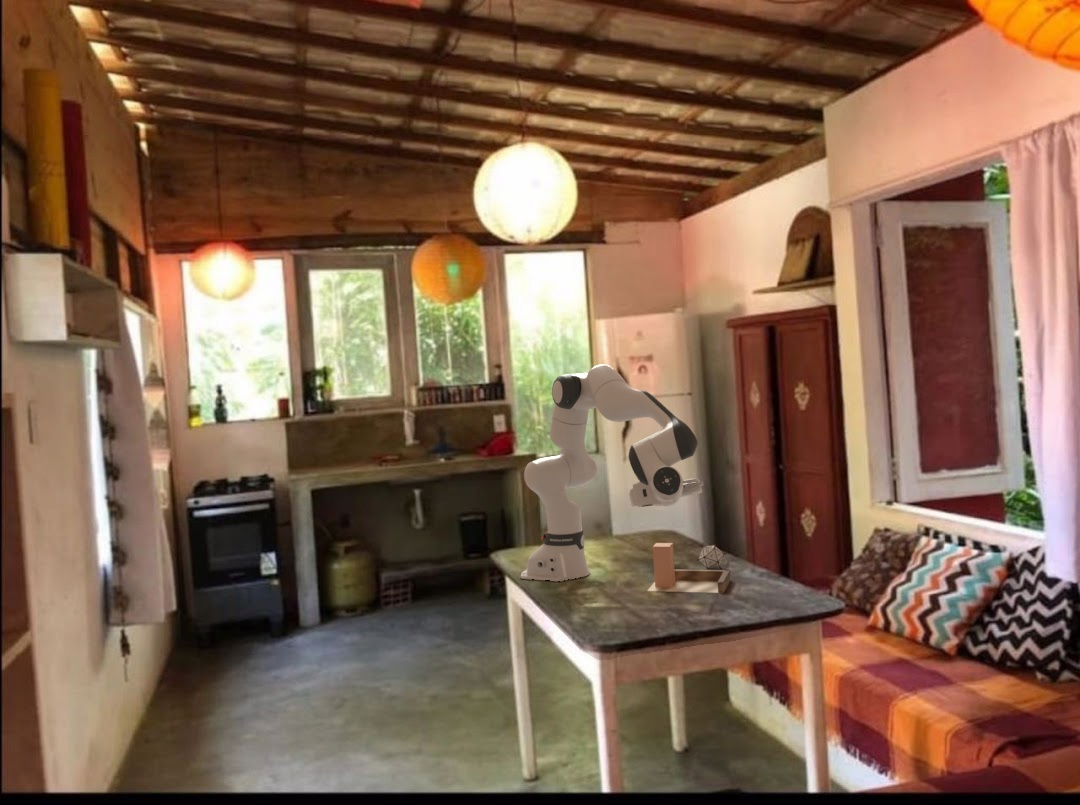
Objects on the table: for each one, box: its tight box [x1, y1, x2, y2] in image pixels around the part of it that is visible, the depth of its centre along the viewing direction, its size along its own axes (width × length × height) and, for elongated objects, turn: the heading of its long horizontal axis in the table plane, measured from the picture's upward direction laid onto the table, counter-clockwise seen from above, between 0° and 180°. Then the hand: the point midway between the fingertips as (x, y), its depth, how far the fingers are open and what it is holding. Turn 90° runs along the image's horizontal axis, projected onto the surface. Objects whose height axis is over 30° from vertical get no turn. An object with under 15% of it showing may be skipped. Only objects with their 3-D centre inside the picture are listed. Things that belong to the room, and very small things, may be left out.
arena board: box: [646, 568, 731, 594], centre depth 248 cm, size 22×14×4 cm, turn 70°
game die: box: [695, 542, 727, 570], centre depth 269 cm, size 9×8×10 cm
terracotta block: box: [652, 542, 675, 587], centre depth 250 cm, size 5×5×12 cm
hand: (665, 496), depth 243 cm, fingers open, 8 cm apart
